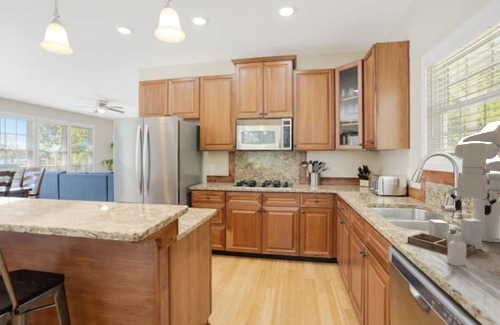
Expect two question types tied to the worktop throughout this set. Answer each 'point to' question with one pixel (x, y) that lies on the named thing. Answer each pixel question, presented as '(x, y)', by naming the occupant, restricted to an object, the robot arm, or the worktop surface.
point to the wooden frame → (435, 243)
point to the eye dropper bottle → (456, 251)
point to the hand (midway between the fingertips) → (472, 212)
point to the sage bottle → (450, 235)
